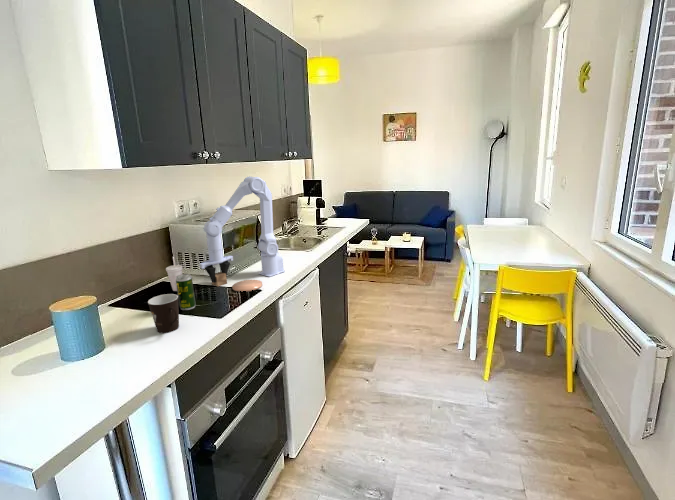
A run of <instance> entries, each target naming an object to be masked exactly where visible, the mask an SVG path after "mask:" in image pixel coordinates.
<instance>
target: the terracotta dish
mask: <svg viewBox="0 0 675 500" xmlns="http://www.w3.org/2000/svg"><path fill="white" fill-rule="evenodd" d="M262 287H263V281H262V280H260V279H259V280H258V279H245V280H240V281H236V282H235V283H233V284H232V287H231V288H232V290H233V291H235V292H240V291H241V292H243V291H246V292H252V290H253V291H255V290H258V289H260V288H262ZM241 292H240V293H241ZM243 293H244V292H243Z"/></svg>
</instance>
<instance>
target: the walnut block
mask: <svg viewBox="0 0 675 500" xmlns="http://www.w3.org/2000/svg"><path fill="white" fill-rule="evenodd" d="M215 278H216V282H215V283H213V282H212V281H211V285H212V286H215V287H216V288H217V287H221V286H225V285H227V284H228V278H227V277H226V273H222V272H221V271H218V272H215Z"/></svg>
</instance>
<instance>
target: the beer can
mask: <svg viewBox="0 0 675 500" xmlns="http://www.w3.org/2000/svg"><path fill="white" fill-rule="evenodd" d="M176 286H177V291H176V292H177V295H178V306H179V308H180V310H182V311H190V310H193V309H195V308H196V305H197V304H196V297H195V296H196V295H195V291H194V289H195V288H194V283H193V277H192V274H190V273H182V275H178V276H176Z"/></svg>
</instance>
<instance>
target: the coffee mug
mask: <svg viewBox="0 0 675 500" xmlns="http://www.w3.org/2000/svg"><path fill="white" fill-rule="evenodd" d="M147 305H148V307H149V311H150V314H151V317H152V319H153V323H154V326H155V328H156V331H157V332H158V333H159V334H168V333H171V332H172V333H173V332H174V331H177V330H178V329H179V327H180V320H179V319H180V318H179V317H180V313H179V298H178V294H174V293H167V294H165V293H164V294H160V295H157V296H153V297H152V298H150V299H148V301H147Z"/></svg>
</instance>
